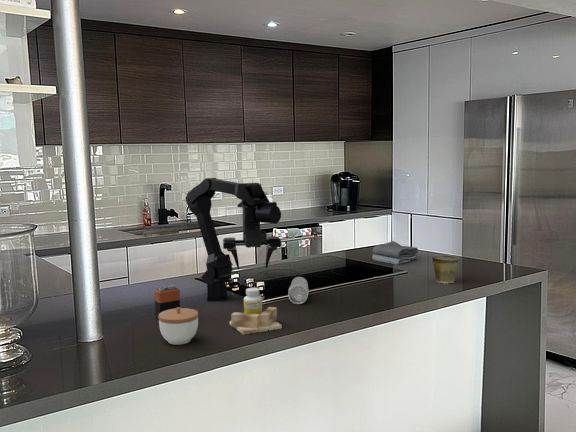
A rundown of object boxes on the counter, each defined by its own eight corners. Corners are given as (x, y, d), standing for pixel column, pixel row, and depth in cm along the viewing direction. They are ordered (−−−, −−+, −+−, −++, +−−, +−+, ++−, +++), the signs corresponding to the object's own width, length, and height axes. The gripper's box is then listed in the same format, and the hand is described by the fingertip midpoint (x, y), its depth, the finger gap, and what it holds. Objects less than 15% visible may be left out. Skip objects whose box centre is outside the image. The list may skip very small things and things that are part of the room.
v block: (225, 324, 166) (225, 310, 166) (269, 317, 173) (269, 303, 172) (239, 335, 156) (239, 320, 156) (285, 327, 163) (285, 312, 162)
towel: (370, 261, 258) (370, 245, 257) (391, 256, 271) (392, 240, 270) (399, 266, 248) (399, 248, 247) (419, 260, 261) (420, 243, 260)
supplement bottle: (249, 317, 169) (248, 286, 168) (265, 319, 167) (265, 288, 166) (240, 322, 165) (240, 290, 163) (257, 325, 162) (256, 292, 161)
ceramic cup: (457, 286, 210) (458, 260, 209) (430, 284, 214) (430, 258, 212) (460, 278, 222) (460, 254, 221) (434, 276, 226) (435, 252, 224)
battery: (181, 317, 174) (180, 286, 173) (160, 321, 170) (159, 289, 169) (174, 314, 177) (173, 283, 176) (154, 318, 173) (153, 286, 172)
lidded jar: (205, 342, 151) (204, 309, 150) (167, 350, 145) (166, 315, 144) (189, 332, 160) (188, 300, 159) (153, 339, 154) (152, 306, 153)
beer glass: (305, 296, 202) (304, 307, 187) (287, 290, 202) (284, 301, 187) (311, 279, 201) (311, 288, 186) (293, 273, 201) (291, 281, 186)
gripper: (222, 225, 172) (224, 274, 174) (282, 224, 174) (283, 272, 176) (222, 220, 183) (223, 267, 185) (278, 219, 185) (279, 265, 187)
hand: (252, 268), depth 183 cm, fingers open, 9 cm apart
